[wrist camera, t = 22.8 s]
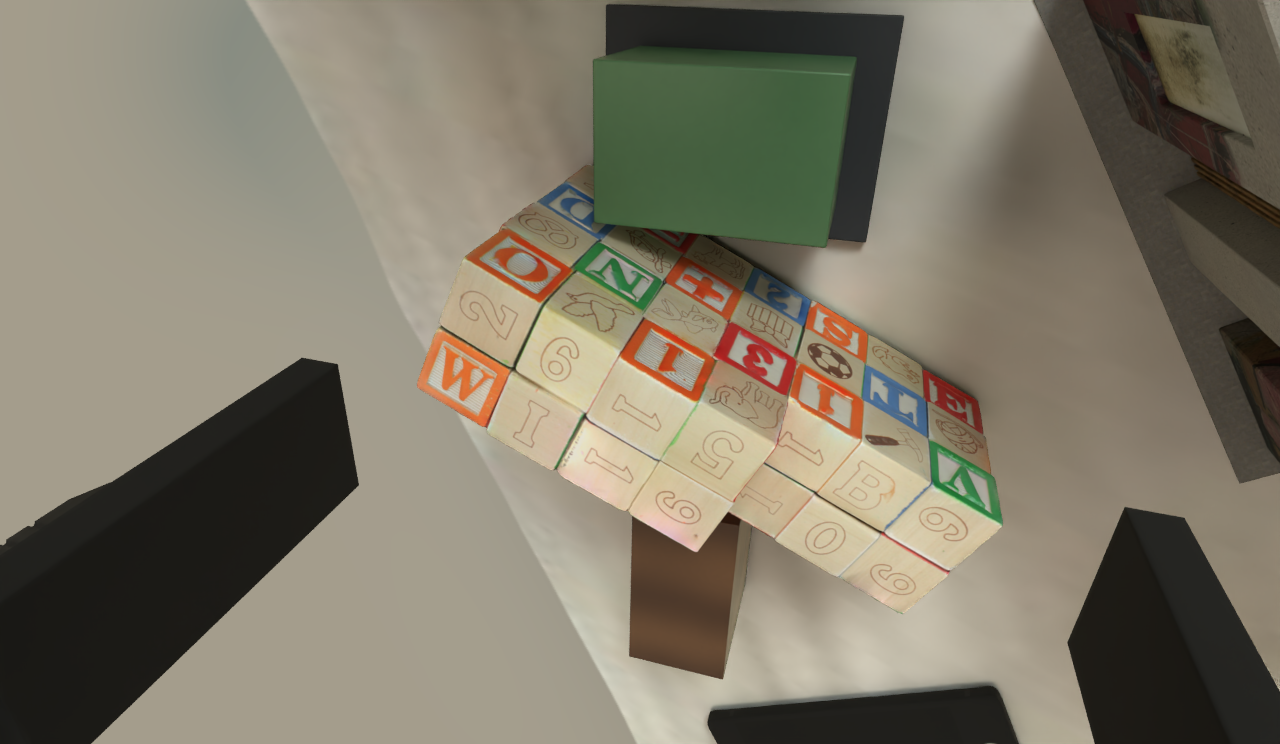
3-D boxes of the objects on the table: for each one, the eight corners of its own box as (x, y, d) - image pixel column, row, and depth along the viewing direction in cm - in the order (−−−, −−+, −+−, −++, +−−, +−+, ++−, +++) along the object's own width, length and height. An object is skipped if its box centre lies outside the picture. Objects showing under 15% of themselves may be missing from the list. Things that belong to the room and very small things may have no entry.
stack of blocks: (983, 397, 35) (1019, 589, 25) (899, 482, 38) (901, 681, 28) (586, 160, 35) (457, 255, 25) (538, 267, 38) (408, 390, 28)
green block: (639, 45, 32) (592, 59, 27) (857, 56, 30) (851, 73, 25) (636, 186, 35) (593, 223, 30) (835, 206, 33) (826, 248, 28)
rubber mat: (609, 4, 32) (605, 4, 32) (904, 15, 29) (904, 15, 29) (608, 212, 36) (605, 215, 36) (866, 239, 33) (865, 243, 33)
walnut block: (669, 427, 41) (632, 504, 35) (761, 443, 40) (739, 525, 34) (662, 567, 46) (628, 656, 40) (744, 585, 44) (722, 680, 39)
